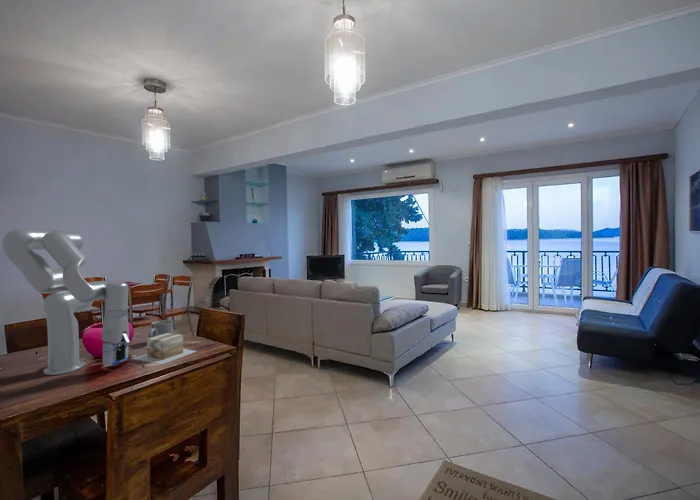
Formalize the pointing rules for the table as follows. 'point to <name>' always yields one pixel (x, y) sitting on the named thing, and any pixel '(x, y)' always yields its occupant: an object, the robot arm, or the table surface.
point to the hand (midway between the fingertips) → (115, 358)
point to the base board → (160, 361)
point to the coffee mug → (161, 328)
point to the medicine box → (112, 354)
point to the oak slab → (165, 352)
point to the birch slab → (164, 341)
